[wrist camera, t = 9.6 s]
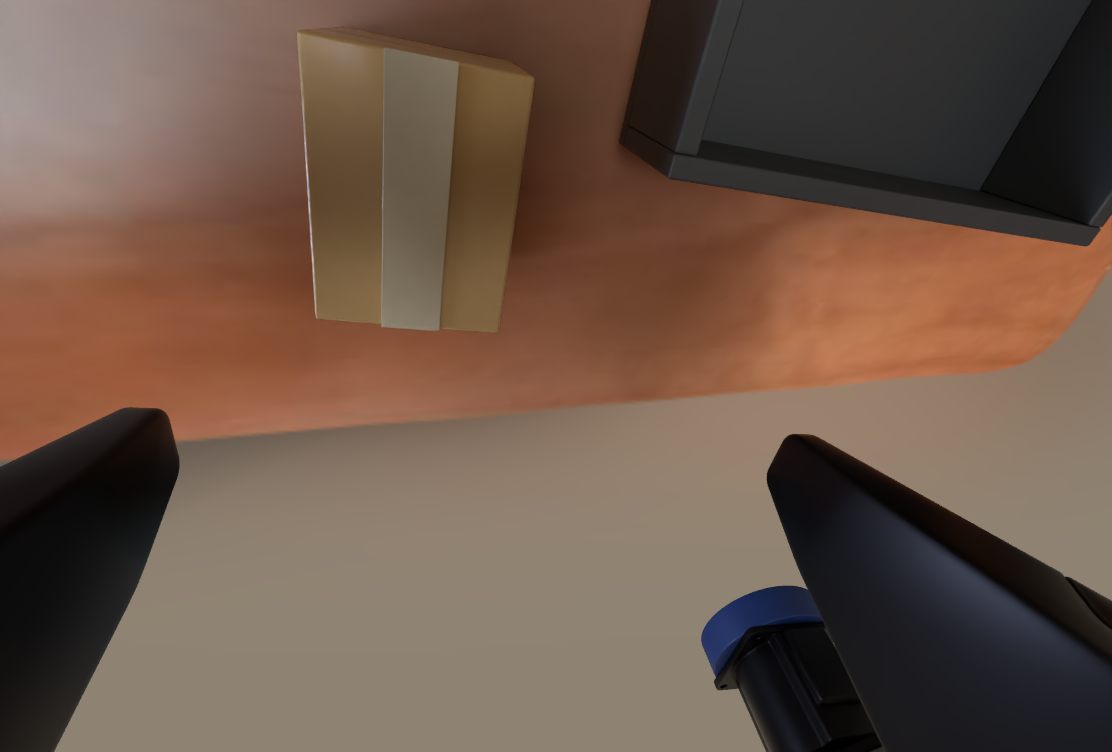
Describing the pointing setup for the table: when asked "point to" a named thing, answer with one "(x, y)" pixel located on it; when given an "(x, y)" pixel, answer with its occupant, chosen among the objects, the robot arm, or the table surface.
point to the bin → (887, 107)
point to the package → (410, 178)
